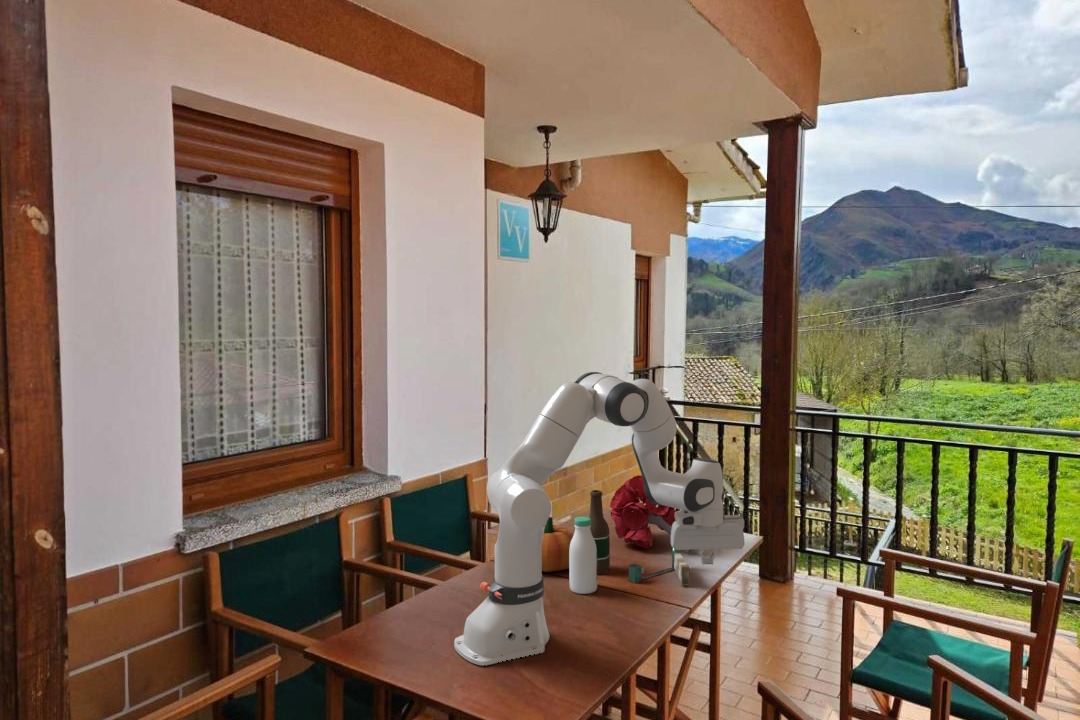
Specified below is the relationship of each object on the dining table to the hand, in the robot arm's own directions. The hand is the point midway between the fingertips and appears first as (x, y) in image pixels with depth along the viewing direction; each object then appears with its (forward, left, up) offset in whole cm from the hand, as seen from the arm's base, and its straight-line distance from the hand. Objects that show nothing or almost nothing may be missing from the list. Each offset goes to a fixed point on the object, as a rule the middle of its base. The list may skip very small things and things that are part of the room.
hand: (707, 563), depth 190 cm
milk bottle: (-31, +18, -6) cm, 36 cm away
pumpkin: (-28, +39, -6) cm, 48 cm away
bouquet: (+10, +33, -6) cm, 34 cm away
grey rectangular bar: (-3, +7, -5) cm, 9 cm away
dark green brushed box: (-15, +14, -6) cm, 21 cm away
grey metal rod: (-7, +14, -6) cm, 16 cm away
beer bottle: (-19, +27, -6) cm, 33 cm away
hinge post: (+1, +14, -6) cm, 15 cm away
